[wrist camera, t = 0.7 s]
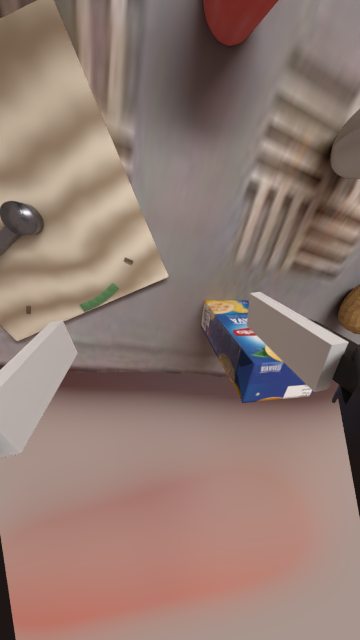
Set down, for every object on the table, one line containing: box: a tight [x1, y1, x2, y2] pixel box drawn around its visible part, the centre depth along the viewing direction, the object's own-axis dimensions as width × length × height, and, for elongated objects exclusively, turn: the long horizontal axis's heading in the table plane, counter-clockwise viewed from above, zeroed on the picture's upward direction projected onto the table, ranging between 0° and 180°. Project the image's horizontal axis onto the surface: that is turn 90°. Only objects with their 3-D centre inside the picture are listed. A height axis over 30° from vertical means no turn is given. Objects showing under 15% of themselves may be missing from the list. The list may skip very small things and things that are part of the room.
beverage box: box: [201, 301, 313, 403], centre depth 34 cm, size 7×11×22 cm, turn 87°
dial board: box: [0, 0, 169, 341], centre depth 29 cm, size 34×34×2 cm
